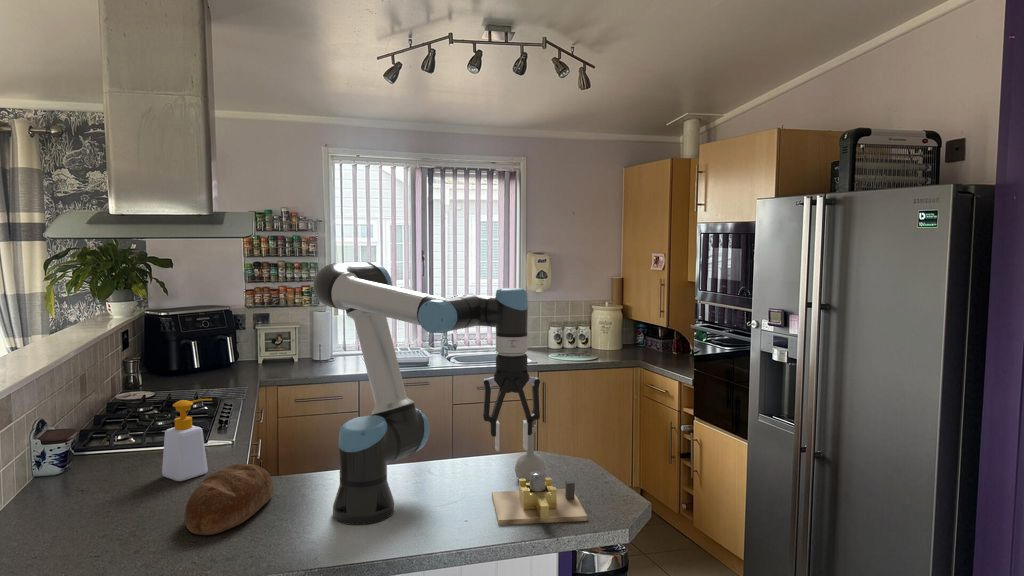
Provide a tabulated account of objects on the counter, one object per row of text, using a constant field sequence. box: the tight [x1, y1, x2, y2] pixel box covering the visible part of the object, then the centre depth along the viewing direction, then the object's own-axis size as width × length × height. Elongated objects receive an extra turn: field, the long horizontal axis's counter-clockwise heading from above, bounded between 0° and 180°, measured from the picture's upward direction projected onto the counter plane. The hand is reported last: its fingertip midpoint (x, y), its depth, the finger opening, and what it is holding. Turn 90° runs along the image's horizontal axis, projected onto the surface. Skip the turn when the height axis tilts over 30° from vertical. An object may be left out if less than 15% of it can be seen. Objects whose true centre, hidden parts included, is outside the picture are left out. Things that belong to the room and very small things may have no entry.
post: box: [530, 471, 546, 493], centre depth 169 cm, size 4×4×9 cm
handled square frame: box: [518, 477, 558, 520], centre depth 165 cm, size 15×8×5 cm, turn 7°
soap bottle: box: [161, 398, 213, 482], centre depth 192 cm, size 10×14×22 cm
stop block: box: [564, 480, 576, 500], centre depth 172 cm, size 2×2×4 cm
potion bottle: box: [514, 420, 546, 483], centre depth 188 cm, size 9×9×18 cm
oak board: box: [491, 488, 588, 526], centre depth 169 cm, size 22×18×1 cm
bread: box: [183, 463, 275, 536], centre depth 165 cm, size 16×29×11 cm, turn 175°
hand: (511, 448), depth 157 cm, fingers open, 6 cm apart
